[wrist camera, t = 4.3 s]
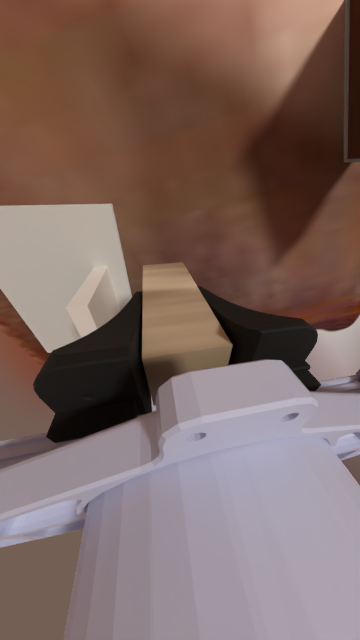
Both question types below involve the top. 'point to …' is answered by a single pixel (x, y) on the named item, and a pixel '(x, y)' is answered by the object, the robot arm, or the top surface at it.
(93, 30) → the top surface
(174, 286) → the stick
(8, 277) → the mat
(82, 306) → the tile
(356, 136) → the food container
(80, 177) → the top surface
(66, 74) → the top surface
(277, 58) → the top surface
